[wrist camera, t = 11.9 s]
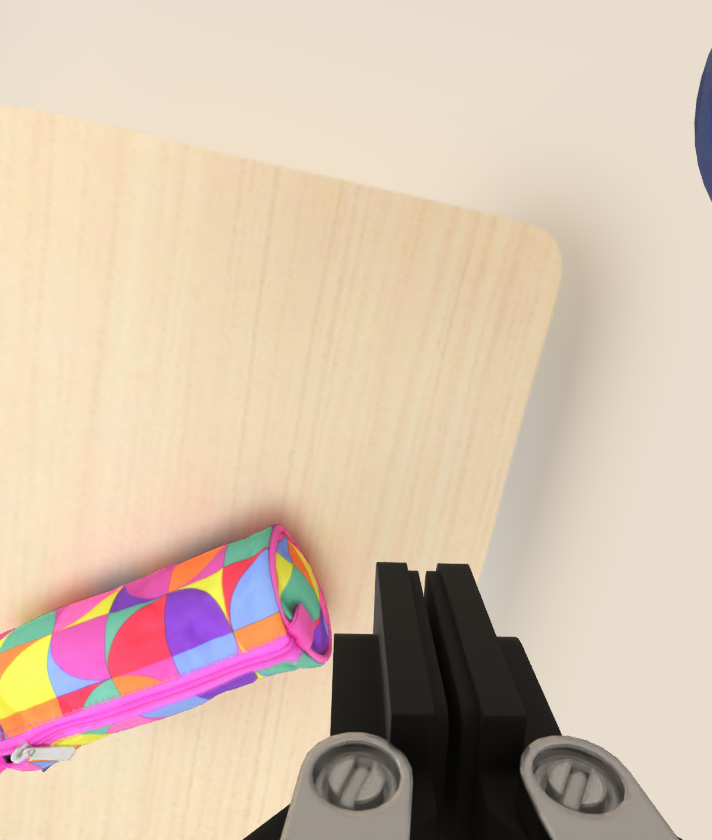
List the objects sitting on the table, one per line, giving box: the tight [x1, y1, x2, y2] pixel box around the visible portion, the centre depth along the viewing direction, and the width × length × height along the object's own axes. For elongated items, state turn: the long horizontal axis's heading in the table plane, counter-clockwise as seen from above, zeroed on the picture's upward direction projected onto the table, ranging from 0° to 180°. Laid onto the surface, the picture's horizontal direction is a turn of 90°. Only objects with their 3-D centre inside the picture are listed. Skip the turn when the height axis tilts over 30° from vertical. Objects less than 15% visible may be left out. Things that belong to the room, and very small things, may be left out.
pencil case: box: [0, 524, 332, 773], centre depth 39 cm, size 22×9×9 cm, turn 115°
